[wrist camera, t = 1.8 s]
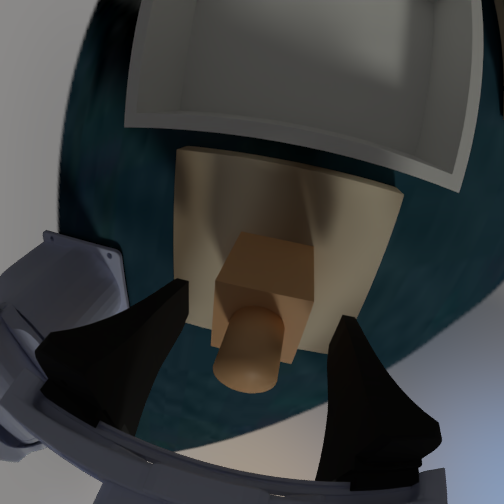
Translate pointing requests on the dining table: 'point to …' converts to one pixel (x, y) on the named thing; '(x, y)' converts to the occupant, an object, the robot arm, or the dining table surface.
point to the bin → (317, 76)
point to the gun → (501, 31)
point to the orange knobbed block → (260, 310)
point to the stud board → (280, 227)
